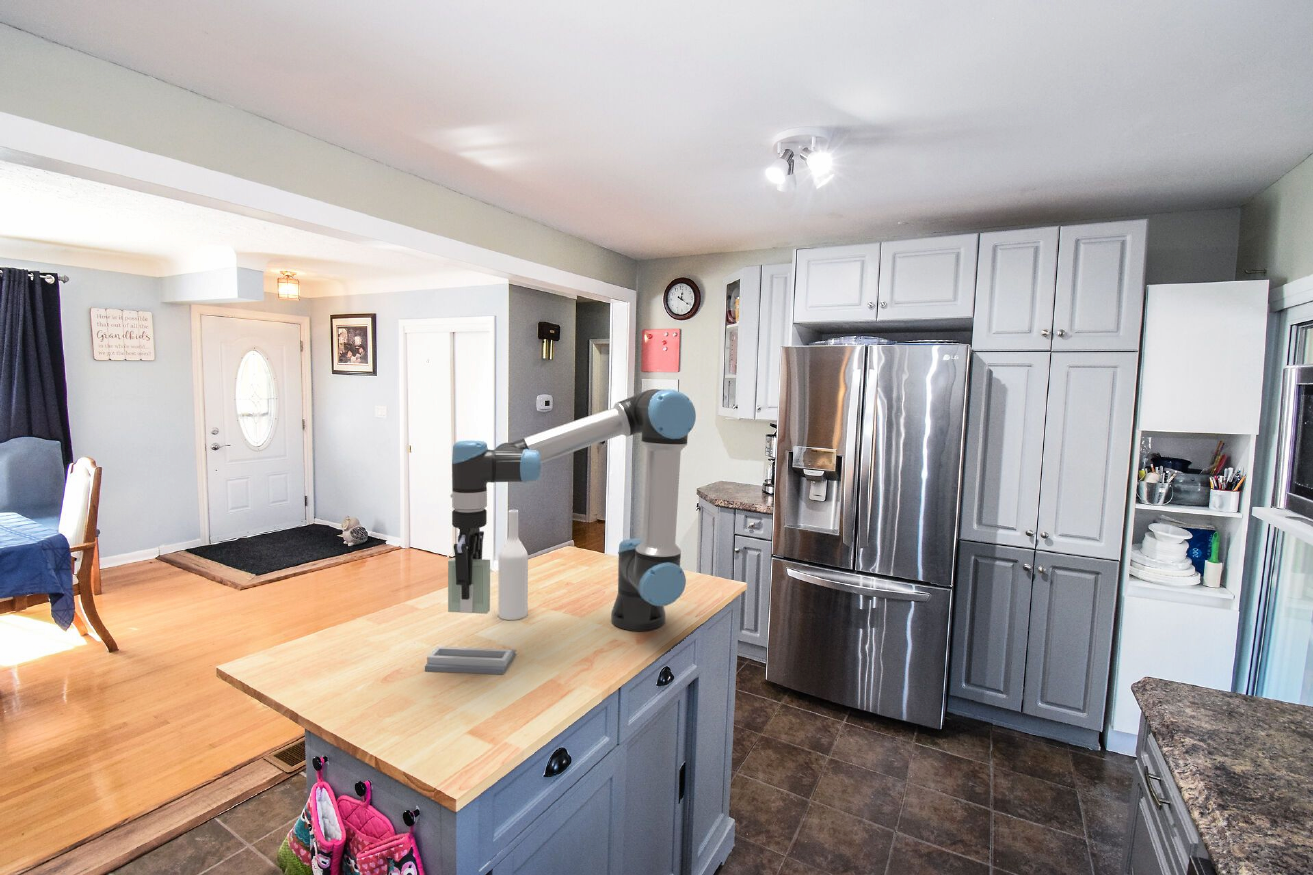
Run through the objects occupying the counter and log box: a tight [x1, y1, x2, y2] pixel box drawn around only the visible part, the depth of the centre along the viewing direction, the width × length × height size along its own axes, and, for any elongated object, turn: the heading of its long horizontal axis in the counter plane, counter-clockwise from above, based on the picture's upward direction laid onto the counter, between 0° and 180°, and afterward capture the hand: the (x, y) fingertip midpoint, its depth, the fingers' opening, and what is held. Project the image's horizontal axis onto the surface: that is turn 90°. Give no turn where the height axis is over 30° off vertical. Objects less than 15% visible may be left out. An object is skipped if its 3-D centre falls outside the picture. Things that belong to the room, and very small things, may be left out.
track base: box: [424, 646, 517, 675], centre depth 140 cm, size 18×10×3 cm, turn 88°
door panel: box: [447, 557, 491, 615], centre depth 138 cm, size 9×2×12 cm, turn 88°
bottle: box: [497, 509, 529, 621], centre depth 169 cm, size 8×8×30 cm
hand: (469, 609), depth 138 cm, fingers closed on door panel, 2 cm apart
